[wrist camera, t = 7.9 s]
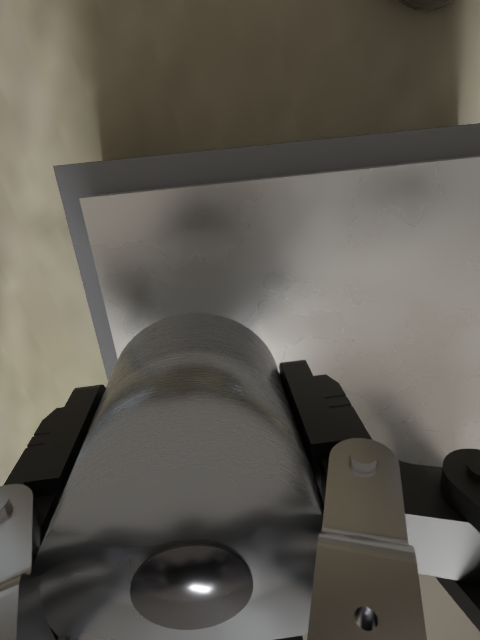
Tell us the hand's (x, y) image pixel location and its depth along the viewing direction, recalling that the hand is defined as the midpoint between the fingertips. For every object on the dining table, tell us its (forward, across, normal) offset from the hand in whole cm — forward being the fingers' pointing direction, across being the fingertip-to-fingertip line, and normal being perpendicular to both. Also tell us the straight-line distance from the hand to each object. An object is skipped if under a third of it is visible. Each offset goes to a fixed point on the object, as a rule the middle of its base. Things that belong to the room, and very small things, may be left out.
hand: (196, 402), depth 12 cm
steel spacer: (+1, 0, 0) cm, 1 cm away
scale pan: (+4, -5, +1) cm, 7 cm away
